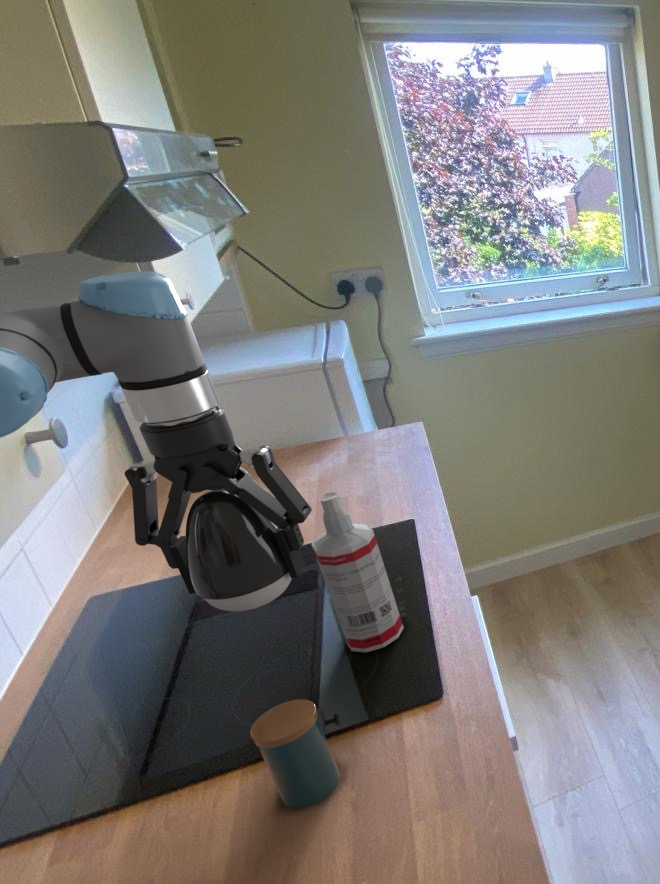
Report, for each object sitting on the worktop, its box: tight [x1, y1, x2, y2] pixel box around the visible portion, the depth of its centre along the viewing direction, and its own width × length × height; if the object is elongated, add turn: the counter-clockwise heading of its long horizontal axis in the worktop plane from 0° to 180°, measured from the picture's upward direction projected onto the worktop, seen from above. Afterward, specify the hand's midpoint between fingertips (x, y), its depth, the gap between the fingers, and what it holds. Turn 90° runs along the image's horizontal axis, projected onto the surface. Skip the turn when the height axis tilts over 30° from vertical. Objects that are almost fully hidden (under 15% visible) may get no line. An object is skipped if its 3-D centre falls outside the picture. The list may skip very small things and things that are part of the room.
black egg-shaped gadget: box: [184, 479, 293, 612], centre depth 89 cm, size 10×10×15 cm
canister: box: [249, 698, 341, 809], centre depth 86 cm, size 6×6×11 cm
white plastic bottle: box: [311, 491, 405, 653], centre depth 109 cm, size 8×8×25 cm
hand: (249, 579), depth 91 cm, fingers closed on black egg-shaped gadget, 10 cm apart
